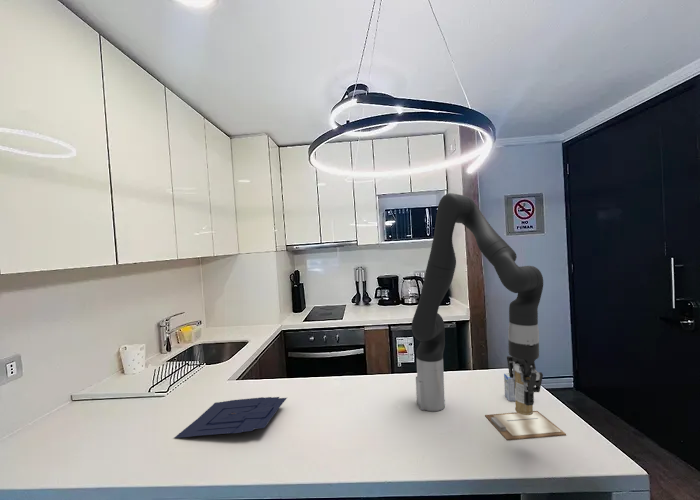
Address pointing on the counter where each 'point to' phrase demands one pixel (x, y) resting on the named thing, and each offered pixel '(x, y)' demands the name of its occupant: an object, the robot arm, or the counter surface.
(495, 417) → the clipboard
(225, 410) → the navy blue folded cloth
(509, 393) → the medicine box
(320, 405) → the counter surface
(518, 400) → the sprinkles bottle
